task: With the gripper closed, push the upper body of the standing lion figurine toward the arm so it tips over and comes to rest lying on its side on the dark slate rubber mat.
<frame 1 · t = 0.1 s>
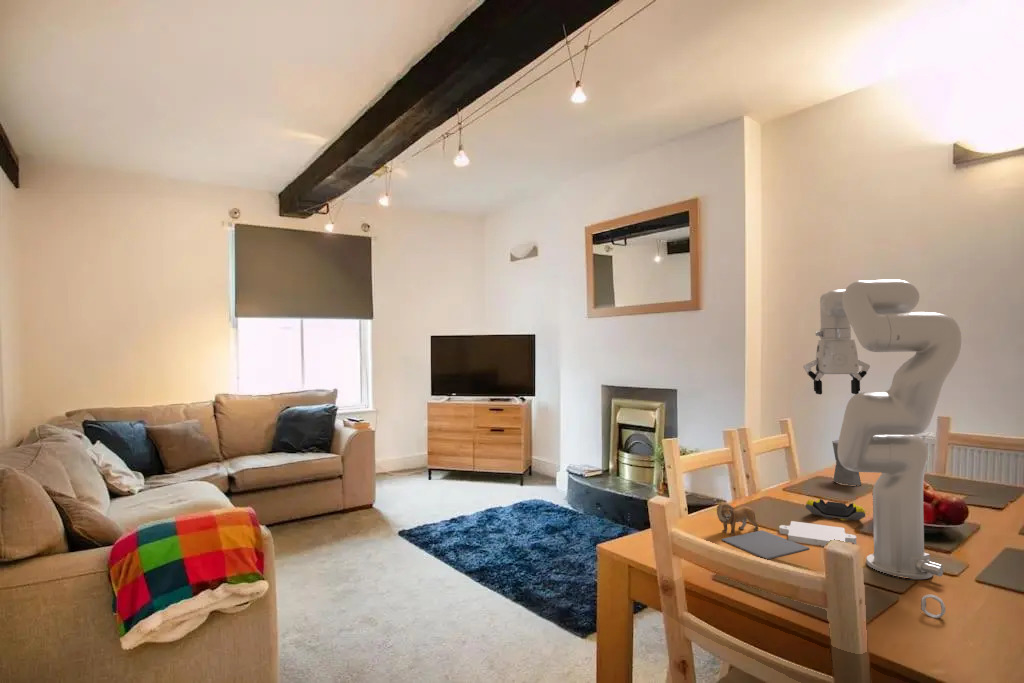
hand: (836, 393, 157), 37 cm above the table, tool pointing down, fingers open, 9 cm apart
mounting plate: (816, 539, 146), on the table
mat: (764, 544, 141), on the table
coffeepot: (848, 484, 198), on the table
lion figurine: (737, 533, 150), on the table
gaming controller: (835, 519, 161), on the table
grey ring: (932, 617, 103), on the table
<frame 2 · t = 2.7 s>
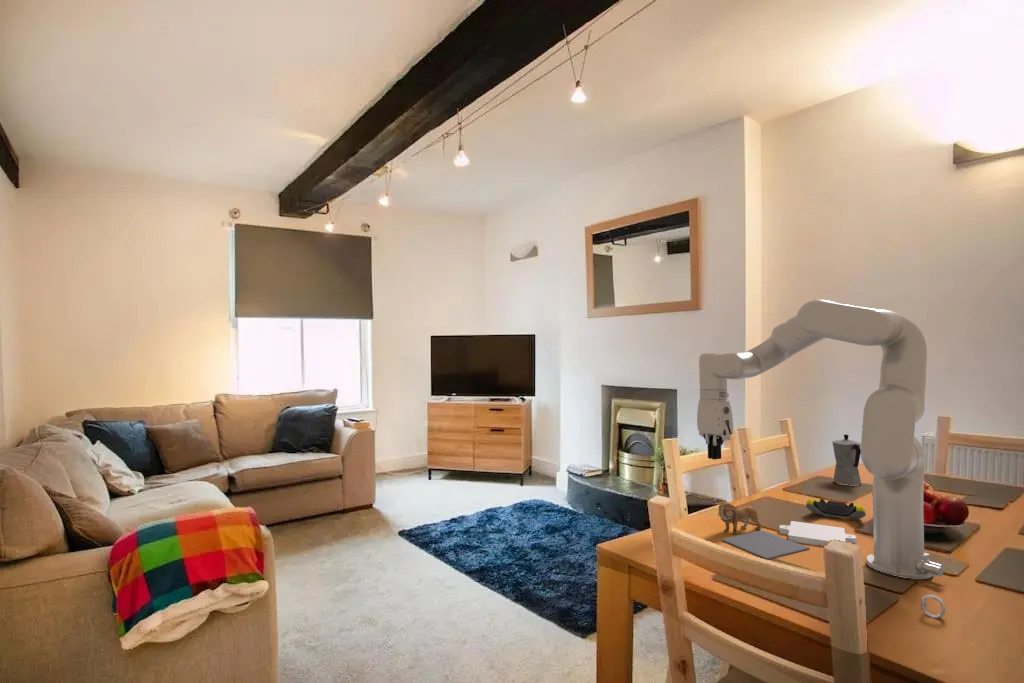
hand: (714, 458, 158), 19 cm above the table, tool pointing down, fingers closed
lion figurine: (739, 532, 151), on the table
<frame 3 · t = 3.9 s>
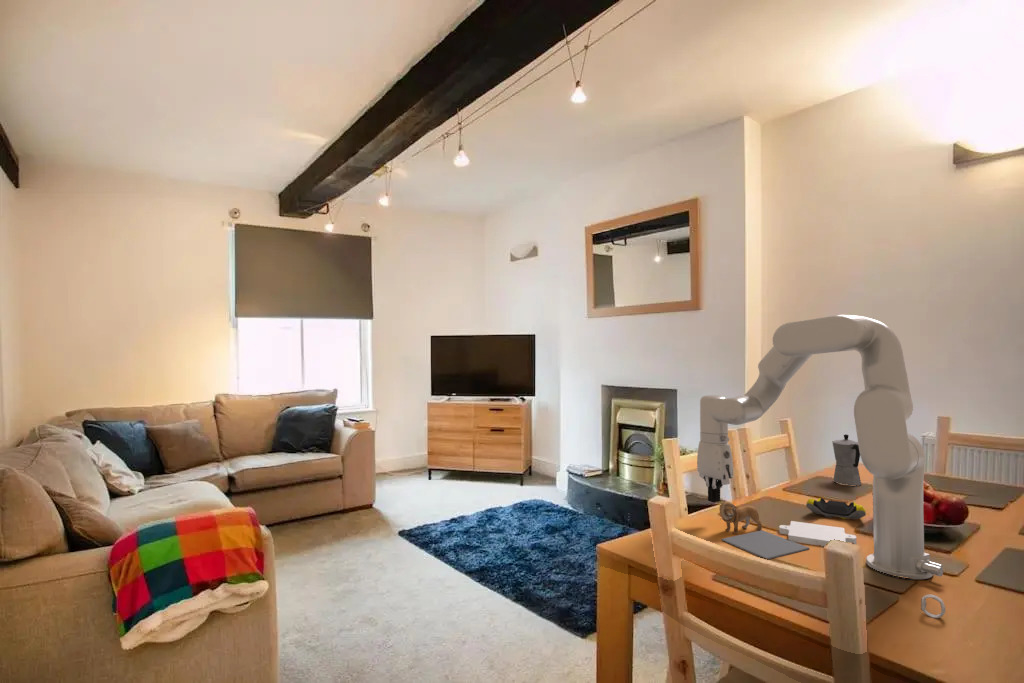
hand: (714, 500, 158), 7 cm above the table, tool pointing down, fingers closed
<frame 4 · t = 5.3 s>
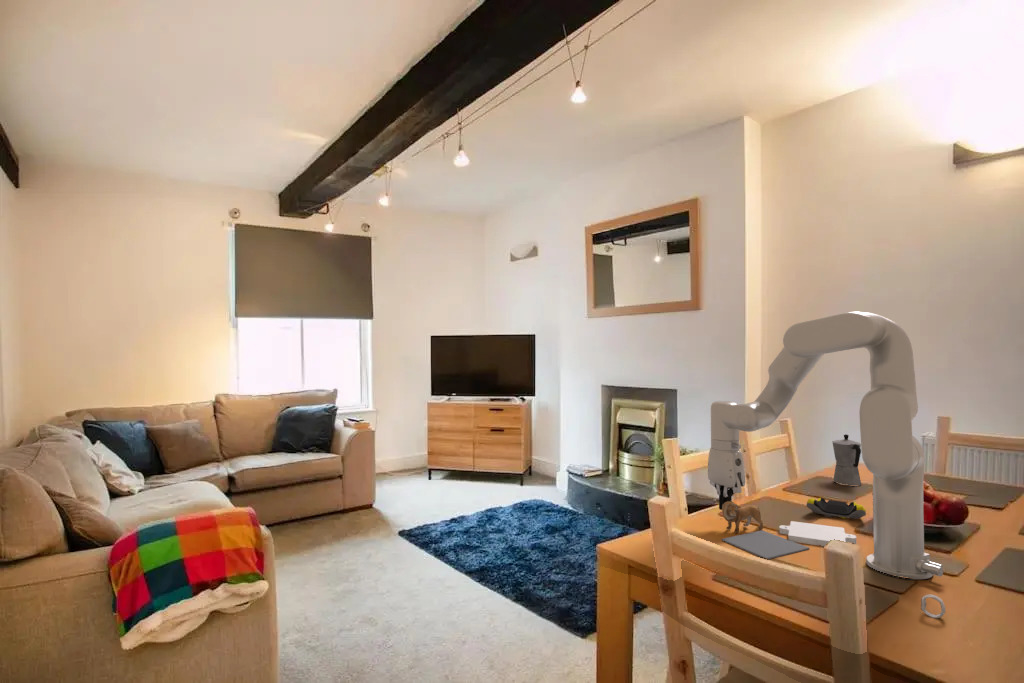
hand: (725, 509, 154), 5 cm above the table, tool pointing down, fingers closed
lion figurine: (741, 531, 152), on the table, touching gripper
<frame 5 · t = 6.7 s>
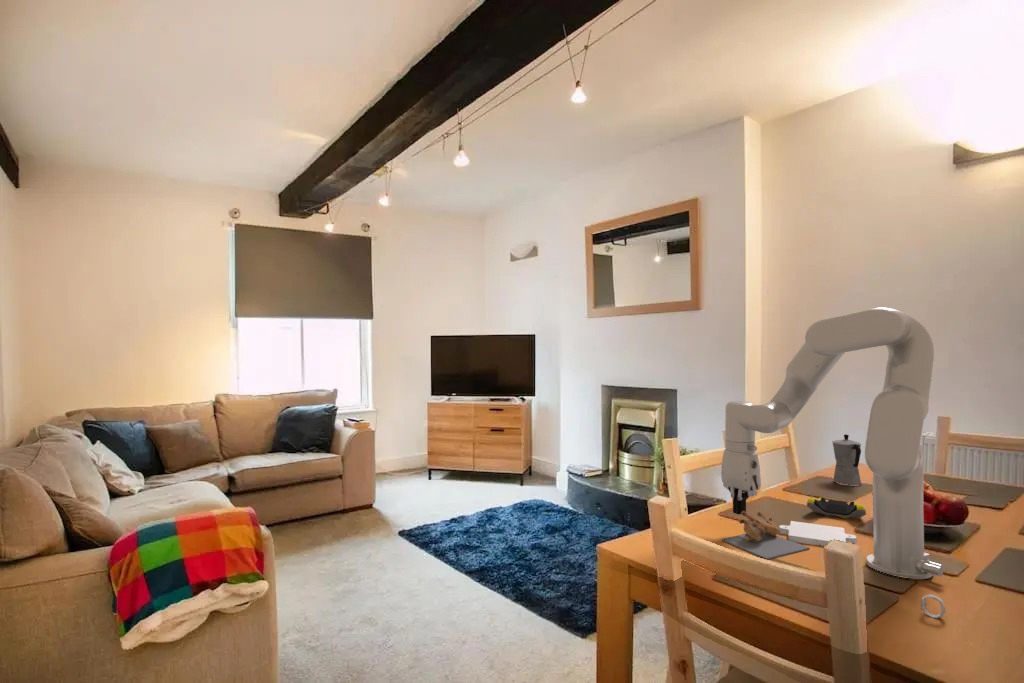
hand: (739, 513, 149), 6 cm above the table, tool pointing down, fingers closed
lion figurine: (747, 518, 150), point 4 cm above the table, touching gripper, mat
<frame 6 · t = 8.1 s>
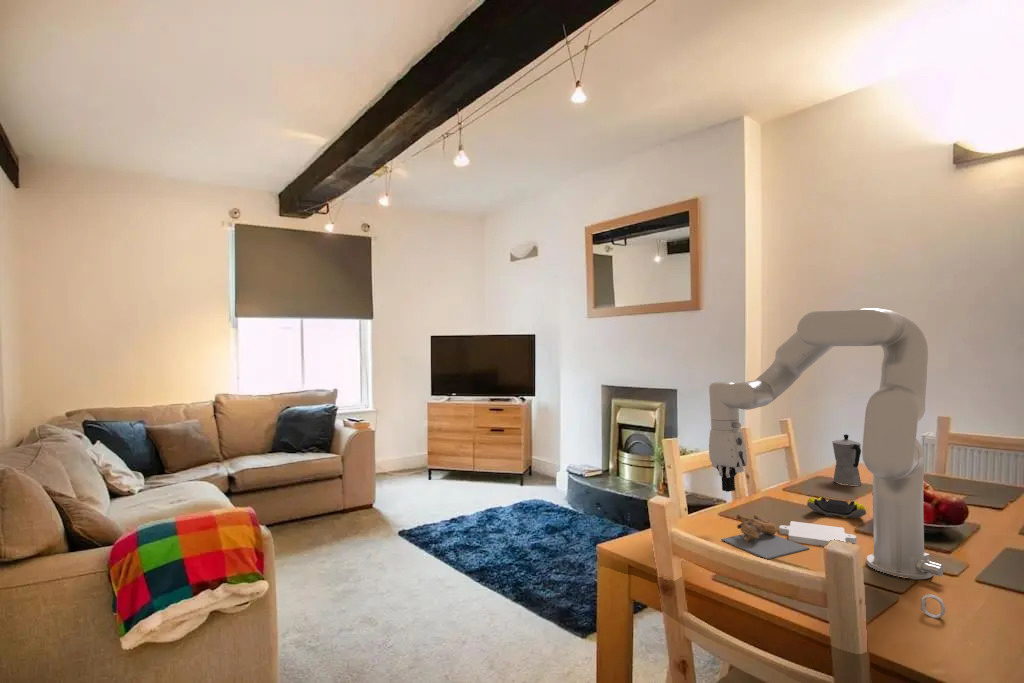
hand: (728, 490, 153), 11 cm above the table, tool pointing down, fingers closed
lion figurine: (745, 523, 150), point 2 cm above the table, touching mat
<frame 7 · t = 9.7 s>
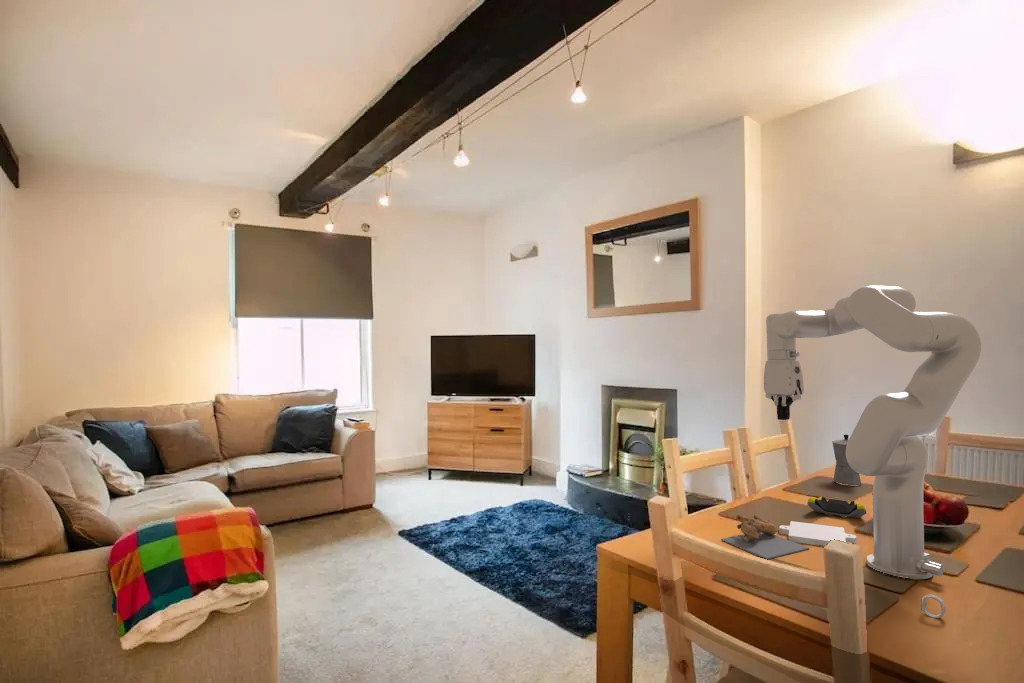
hand: (783, 419, 157), 30 cm above the table, tool pointing down, fingers closed
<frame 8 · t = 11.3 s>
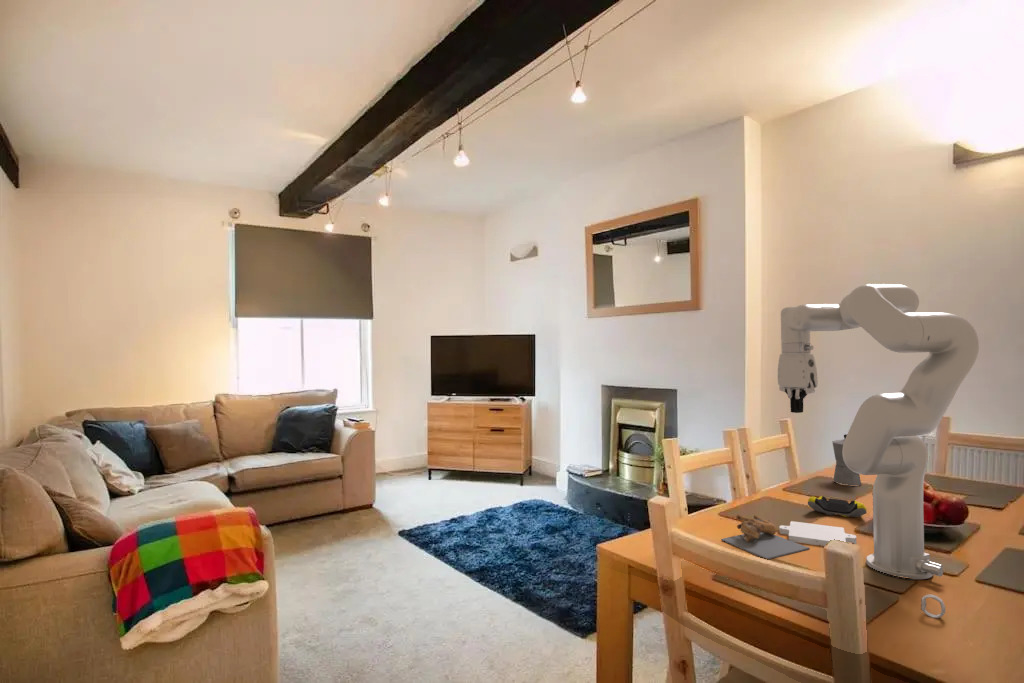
hand: (796, 412, 158), 32 cm above the table, tool pointing down, fingers closed
at the end: lion figurine tilted 89°; lion figurine touching mat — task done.
